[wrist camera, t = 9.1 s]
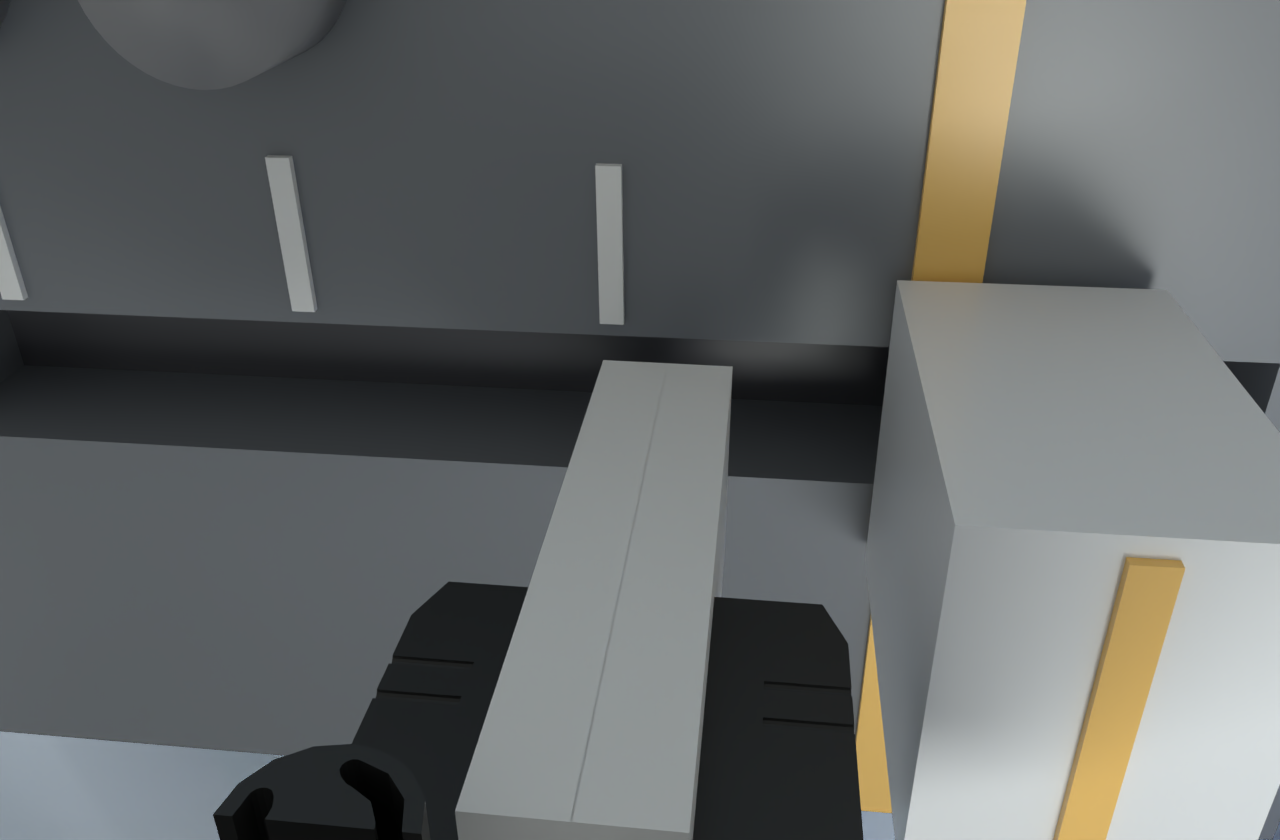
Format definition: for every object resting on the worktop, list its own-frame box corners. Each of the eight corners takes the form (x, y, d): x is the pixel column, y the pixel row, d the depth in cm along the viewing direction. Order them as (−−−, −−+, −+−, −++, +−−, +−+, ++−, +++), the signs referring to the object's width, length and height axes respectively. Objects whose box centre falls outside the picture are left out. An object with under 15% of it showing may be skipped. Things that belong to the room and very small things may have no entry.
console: (40, 615, 22) (-124, 793, 18) (-247, -200, 15) (-620, -203, 11) (1206, 700, 19) (1313, 926, 15) (1509, -220, 12) (1841, -230, 8)
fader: (855, 472, 17) (899, 884, 10) (882, 218, 15) (956, 532, 8) (1060, 483, 16) (1236, 915, 10) (1115, 225, 14) (1379, 558, 8)
